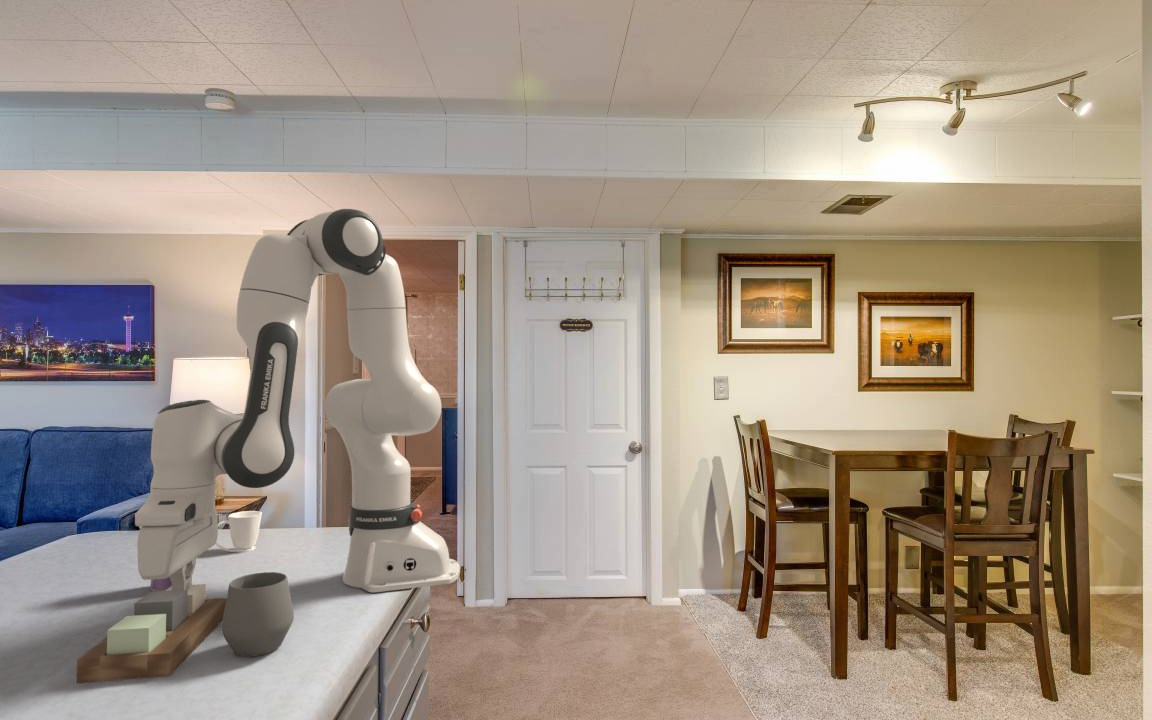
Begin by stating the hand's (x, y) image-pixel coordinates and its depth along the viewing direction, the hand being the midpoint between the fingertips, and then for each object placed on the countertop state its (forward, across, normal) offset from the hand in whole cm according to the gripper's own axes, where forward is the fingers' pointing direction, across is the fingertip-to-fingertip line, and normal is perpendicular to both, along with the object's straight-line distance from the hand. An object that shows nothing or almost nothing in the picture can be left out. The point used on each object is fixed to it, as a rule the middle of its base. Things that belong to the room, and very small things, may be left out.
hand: (181, 590), depth 101 cm
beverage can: (+6, -20, -10) cm, 23 cm away
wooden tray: (+6, +7, 0) cm, 9 cm away
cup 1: (+6, -44, -6) cm, 45 cm away
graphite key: (+3, +7, 0) cm, 8 cm away
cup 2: (+6, +11, +14) cm, 19 cm away
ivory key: (+4, 0, 0) cm, 4 cm away
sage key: (+4, +14, 0) cm, 14 cm away
